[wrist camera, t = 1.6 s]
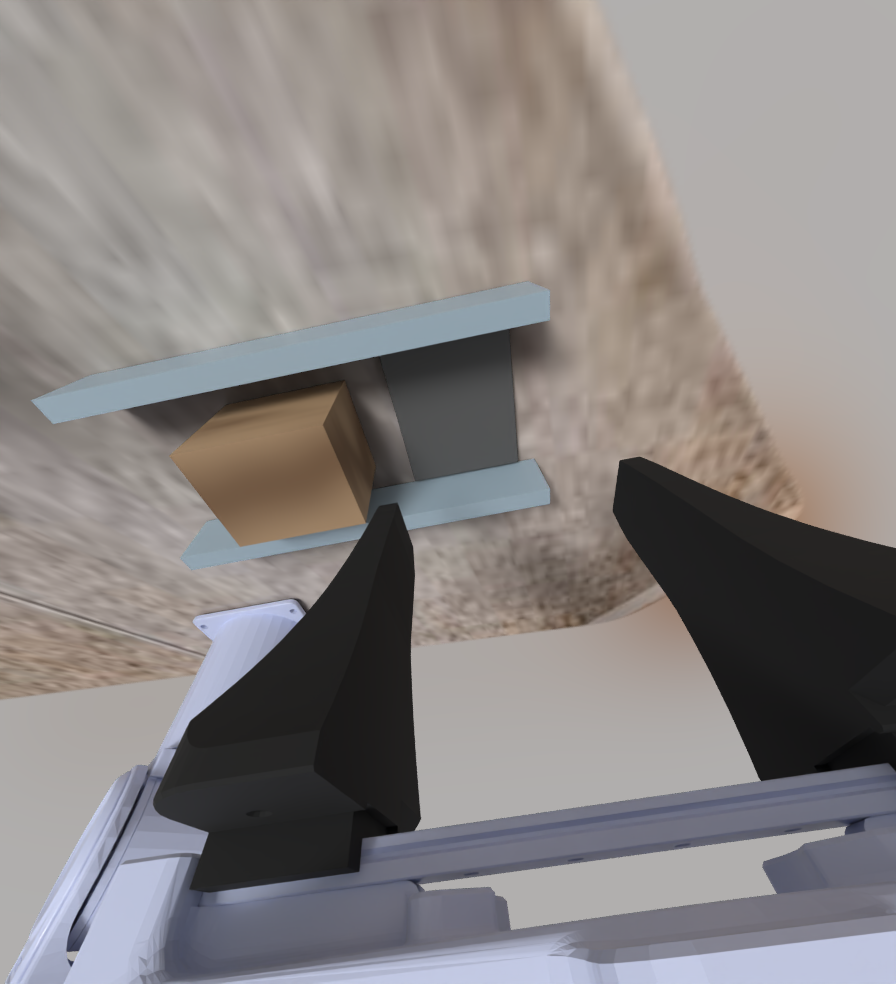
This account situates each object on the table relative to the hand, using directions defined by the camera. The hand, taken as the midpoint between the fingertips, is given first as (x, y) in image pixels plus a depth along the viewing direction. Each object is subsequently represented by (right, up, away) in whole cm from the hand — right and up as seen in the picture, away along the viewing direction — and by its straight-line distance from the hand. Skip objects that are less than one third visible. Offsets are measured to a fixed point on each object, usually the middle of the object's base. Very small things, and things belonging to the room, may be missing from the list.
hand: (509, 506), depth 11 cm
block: (-9, +3, +7) cm, 12 cm away
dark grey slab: (-2, +5, +7) cm, 8 cm away
